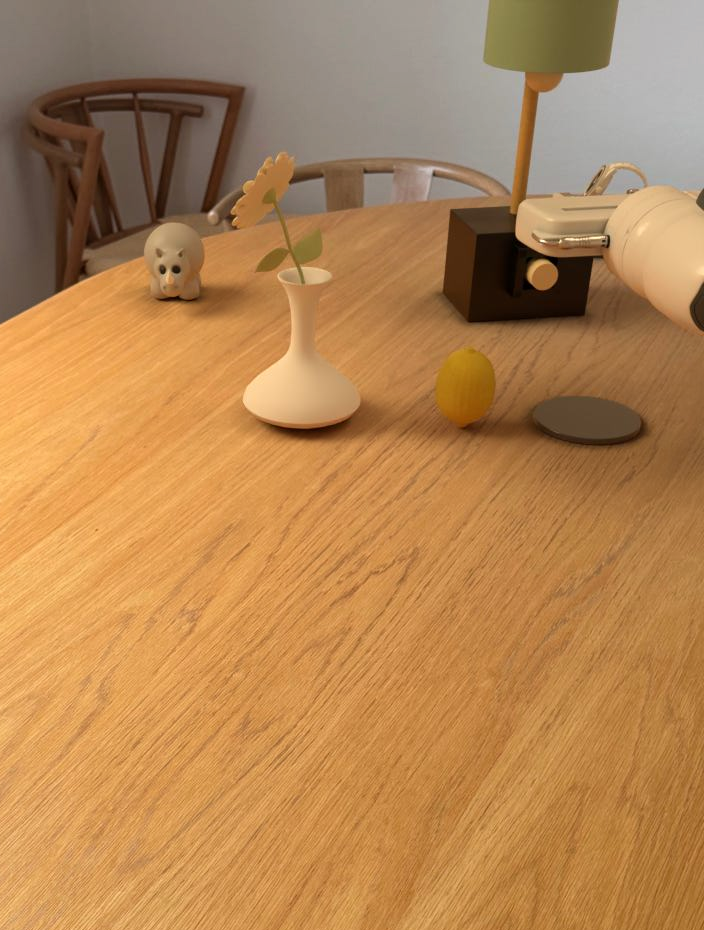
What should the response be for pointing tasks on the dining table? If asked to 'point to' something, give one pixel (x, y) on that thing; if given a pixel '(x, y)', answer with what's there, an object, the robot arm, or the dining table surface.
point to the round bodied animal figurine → (174, 261)
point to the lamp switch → (541, 273)
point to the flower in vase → (294, 321)
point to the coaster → (586, 420)
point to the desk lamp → (525, 163)
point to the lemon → (465, 386)
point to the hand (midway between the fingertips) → (595, 199)
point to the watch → (609, 179)
